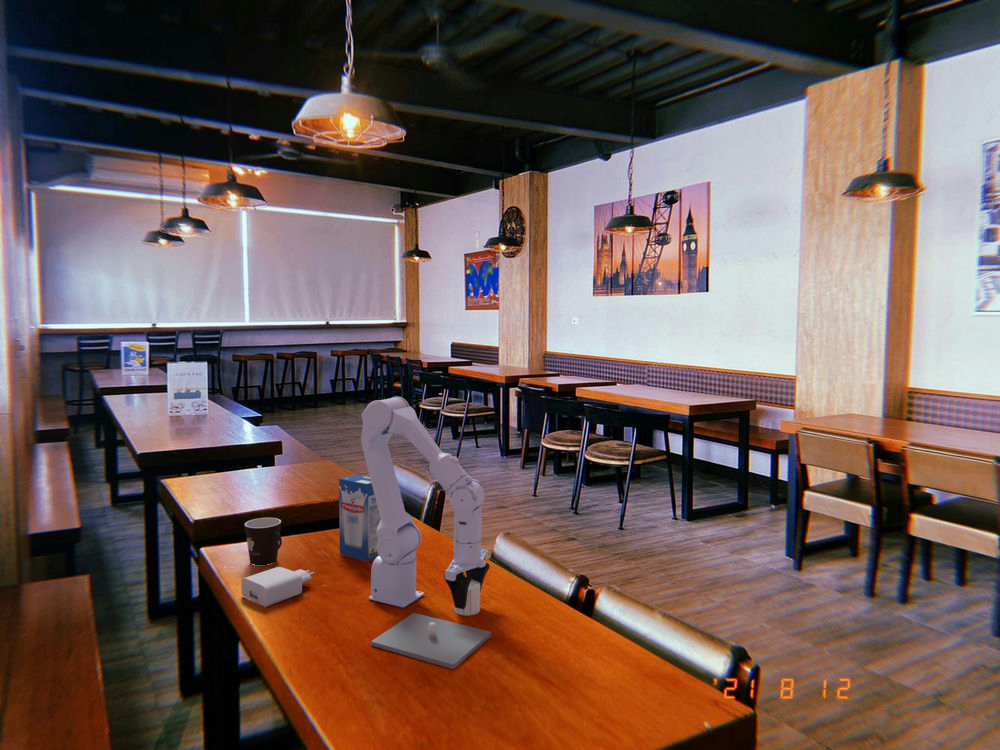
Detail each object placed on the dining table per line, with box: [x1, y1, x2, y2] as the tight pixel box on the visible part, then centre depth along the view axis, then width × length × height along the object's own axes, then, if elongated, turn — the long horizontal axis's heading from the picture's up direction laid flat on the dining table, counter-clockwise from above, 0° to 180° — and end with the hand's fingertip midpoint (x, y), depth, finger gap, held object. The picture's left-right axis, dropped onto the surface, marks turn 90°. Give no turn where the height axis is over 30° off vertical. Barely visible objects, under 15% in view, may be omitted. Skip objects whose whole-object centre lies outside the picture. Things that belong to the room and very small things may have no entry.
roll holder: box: [370, 612, 492, 670], centre depth 125 cm, size 18×14×3 cm
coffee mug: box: [244, 517, 283, 566], centre depth 164 cm, size 12×9×10 cm
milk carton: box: [338, 474, 381, 562], centre depth 171 cm, size 10×6×20 cm, turn 58°
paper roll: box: [453, 580, 481, 616], centre depth 139 cm, size 5×5×6 cm
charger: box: [241, 566, 315, 608], centre depth 147 cm, size 5×9×15 cm
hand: (467, 602), depth 139 cm, fingers closed on paper roll, 5 cm apart
